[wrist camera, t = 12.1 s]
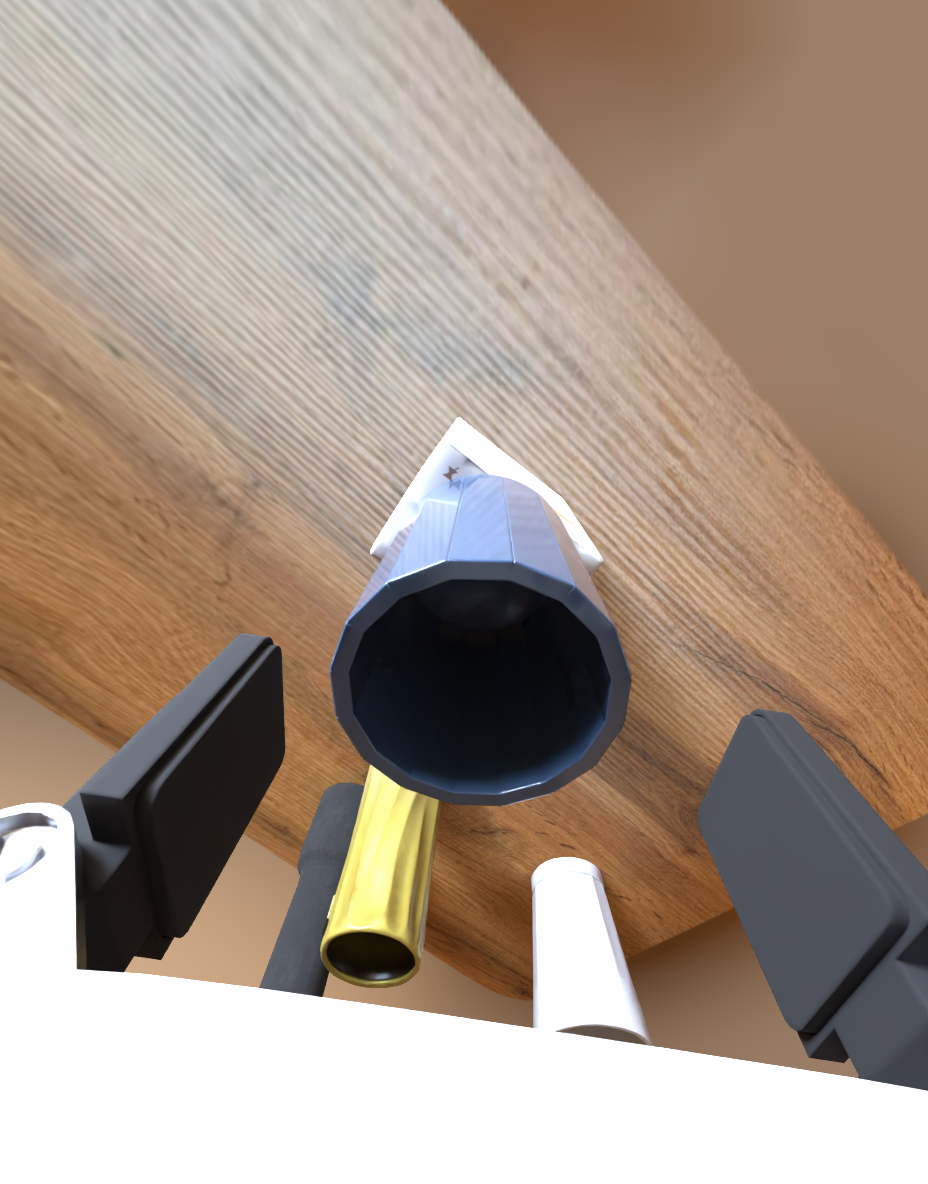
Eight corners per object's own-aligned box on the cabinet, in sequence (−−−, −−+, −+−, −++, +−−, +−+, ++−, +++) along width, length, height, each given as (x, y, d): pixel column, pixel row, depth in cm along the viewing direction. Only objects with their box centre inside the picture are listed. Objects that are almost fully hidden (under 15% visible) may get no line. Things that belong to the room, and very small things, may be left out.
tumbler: (535, 445, 17) (578, 510, 9) (588, 601, 19) (661, 766, 11) (370, 513, 18) (274, 624, 10) (439, 651, 21) (408, 831, 13)
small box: (404, 493, 29) (362, 552, 19) (459, 414, 27) (443, 435, 17) (508, 568, 30) (517, 658, 21) (567, 499, 28) (607, 563, 19)
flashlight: (344, 832, 41) (392, 814, 40) (181, 1351, 19) (276, 1345, 18) (309, 795, 39) (358, 774, 38) (87, 1316, 18) (184, 1307, 16)
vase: (463, 771, 38) (449, 980, 25) (396, 794, 39) (351, 1003, 26) (426, 715, 35) (390, 911, 22) (357, 742, 37) (286, 940, 24)
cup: (542, 917, 45) (560, 1092, 34) (507, 865, 42) (513, 1037, 31) (624, 896, 43) (670, 1074, 32) (593, 840, 40) (632, 1013, 29)
